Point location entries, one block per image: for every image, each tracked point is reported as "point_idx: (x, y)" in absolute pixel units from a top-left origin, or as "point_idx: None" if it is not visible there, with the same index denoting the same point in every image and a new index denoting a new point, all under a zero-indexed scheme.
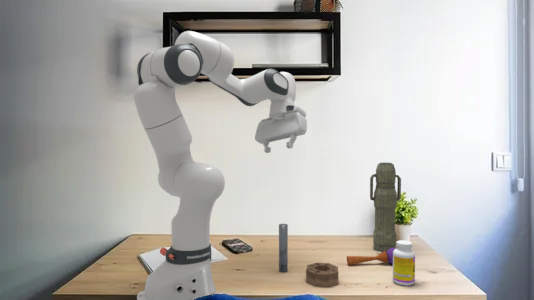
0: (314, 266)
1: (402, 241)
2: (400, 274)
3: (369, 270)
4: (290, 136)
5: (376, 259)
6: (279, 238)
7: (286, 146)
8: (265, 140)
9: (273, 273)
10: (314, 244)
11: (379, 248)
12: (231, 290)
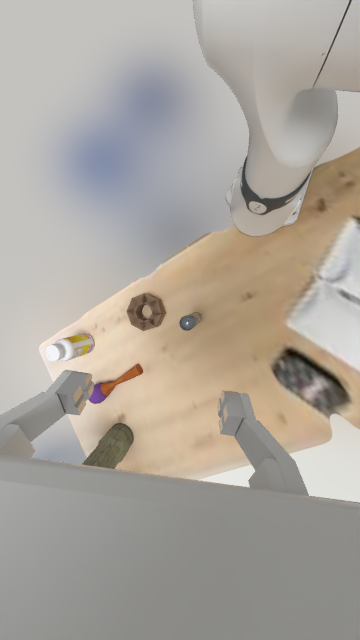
0: (152, 313)
1: (54, 356)
2: (79, 335)
3: (118, 360)
4: (11, 425)
5: (113, 382)
6: (193, 315)
7: (88, 374)
8: (272, 480)
9: (202, 305)
10: (202, 426)
11: (122, 427)
12: (220, 238)
